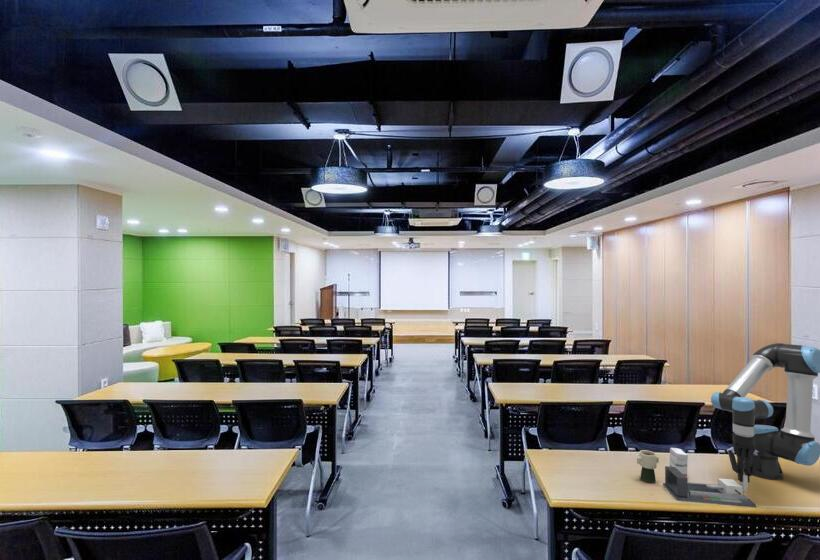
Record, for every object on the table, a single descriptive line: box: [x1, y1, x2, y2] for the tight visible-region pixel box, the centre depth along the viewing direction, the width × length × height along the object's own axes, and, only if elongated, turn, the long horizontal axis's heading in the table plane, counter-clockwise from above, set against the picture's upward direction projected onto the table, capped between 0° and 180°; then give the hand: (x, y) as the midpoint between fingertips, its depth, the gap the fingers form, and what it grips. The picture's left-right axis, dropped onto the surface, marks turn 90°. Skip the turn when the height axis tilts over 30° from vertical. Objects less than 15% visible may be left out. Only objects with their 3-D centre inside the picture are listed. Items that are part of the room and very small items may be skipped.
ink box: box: [669, 447, 689, 478], centre depth 204 cm, size 9×5×12 cm, turn 168°
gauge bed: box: [662, 465, 757, 508], centre depth 184 cm, size 30×14×9 cm, turn 81°
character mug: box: [636, 449, 660, 483], centre depth 198 cm, size 11×7×13 cm, turn 97°
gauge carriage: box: [706, 478, 744, 495], centre depth 181 cm, size 12×11×5 cm
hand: (743, 489), depth 181 cm, fingers closed
